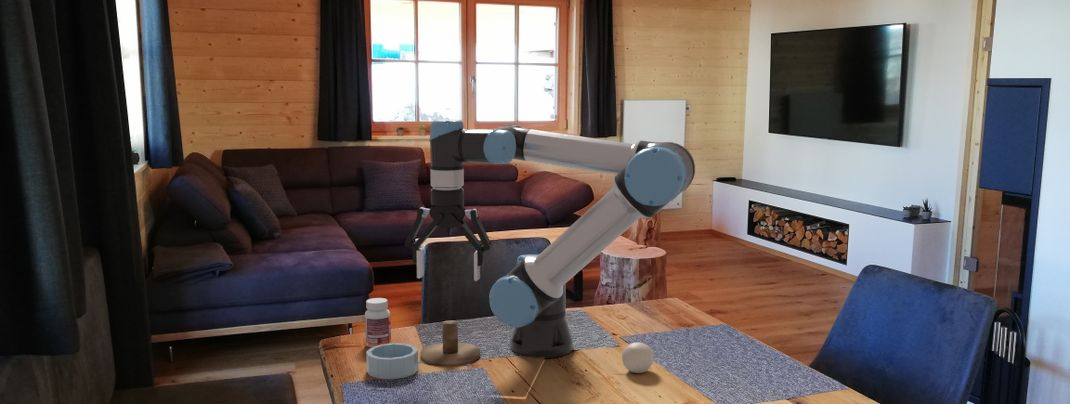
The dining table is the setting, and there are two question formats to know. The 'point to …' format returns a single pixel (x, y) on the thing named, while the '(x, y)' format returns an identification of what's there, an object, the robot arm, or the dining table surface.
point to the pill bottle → (377, 322)
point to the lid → (450, 348)
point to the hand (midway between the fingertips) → (448, 278)
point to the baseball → (637, 357)
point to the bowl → (392, 361)
